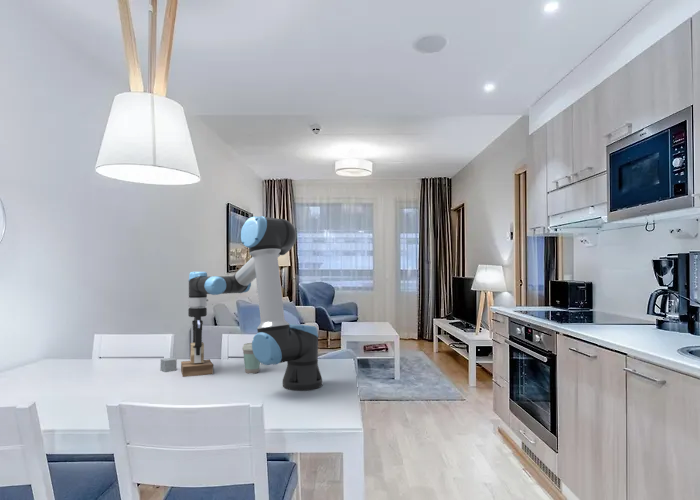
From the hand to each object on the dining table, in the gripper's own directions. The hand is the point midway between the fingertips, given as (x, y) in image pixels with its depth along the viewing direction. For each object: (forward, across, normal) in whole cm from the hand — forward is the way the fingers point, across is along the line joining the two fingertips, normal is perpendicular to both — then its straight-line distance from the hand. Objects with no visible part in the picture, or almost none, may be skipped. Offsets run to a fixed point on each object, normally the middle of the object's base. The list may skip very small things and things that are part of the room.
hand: (196, 361), depth 193 cm
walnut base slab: (+5, 0, 0) cm, 5 cm away
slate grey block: (+5, +9, +11) cm, 15 cm away
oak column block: (0, 0, 0) cm, 0 cm away
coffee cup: (+5, -9, -22) cm, 24 cm away
